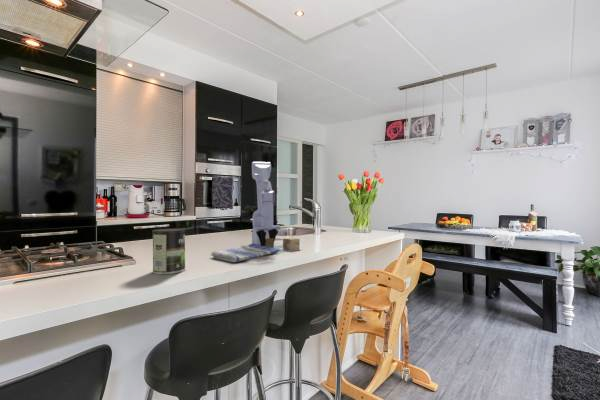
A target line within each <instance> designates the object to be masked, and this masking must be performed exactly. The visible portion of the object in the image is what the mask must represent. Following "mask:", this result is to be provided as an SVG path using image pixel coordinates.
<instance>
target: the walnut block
mask: <svg viewBox="0 0 600 400" xmlns="http://www.w3.org/2000/svg"><path fill="white" fill-rule="evenodd" d="M265 246H266V247H272V248H274V246H275V241H274V238H269V237H267V238H265Z"/></svg>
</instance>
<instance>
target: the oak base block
mask: <svg viewBox="0 0 600 400" xmlns="http://www.w3.org/2000/svg"><path fill="white" fill-rule="evenodd" d="M300 241H301V240H300V237H293V236H292V237H283V238H282V245H283V249H286V250H290V251H289V252H292V251H291V250H295V251H298V250H297V249H301V247H300V245H301V244H300Z"/></svg>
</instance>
